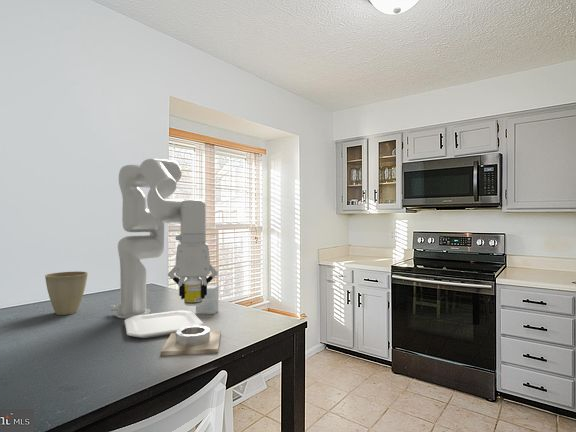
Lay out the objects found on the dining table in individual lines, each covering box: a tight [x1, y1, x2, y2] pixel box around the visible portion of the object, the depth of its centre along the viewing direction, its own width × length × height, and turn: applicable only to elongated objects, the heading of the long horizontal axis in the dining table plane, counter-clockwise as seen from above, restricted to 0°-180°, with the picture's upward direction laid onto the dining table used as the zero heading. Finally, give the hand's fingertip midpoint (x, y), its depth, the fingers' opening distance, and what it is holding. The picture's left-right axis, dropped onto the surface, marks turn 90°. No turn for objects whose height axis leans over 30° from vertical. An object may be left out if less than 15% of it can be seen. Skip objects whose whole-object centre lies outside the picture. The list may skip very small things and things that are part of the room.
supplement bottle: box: [183, 277, 203, 307], centre depth 110 cm, size 5×5×10 cm
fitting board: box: [160, 330, 222, 357], centre depth 110 cm, size 16×16×1 cm
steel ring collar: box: [176, 325, 211, 346], centre depth 110 cm, size 10×10×3 cm
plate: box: [123, 310, 204, 339], centre depth 128 cm, size 25×25×2 cm
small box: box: [195, 285, 219, 315], centre depth 147 cm, size 8×6×10 cm
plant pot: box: [44, 270, 89, 316], centre depth 146 cm, size 15×15×16 cm
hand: (193, 297), depth 110 cm, fingers closed on supplement bottle, 5 cm apart
